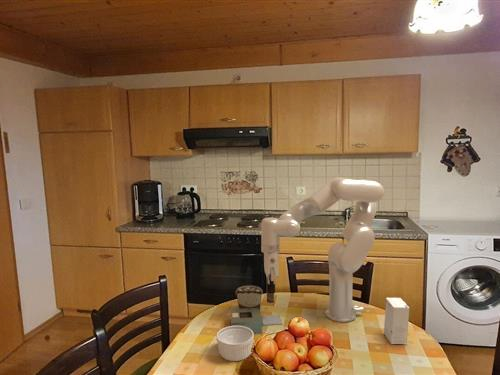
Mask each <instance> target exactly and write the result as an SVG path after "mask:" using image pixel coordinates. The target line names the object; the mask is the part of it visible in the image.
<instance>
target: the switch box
mask: <svg viewBox="0 0 500 375" xmlns="http://www.w3.org/2000/svg"><path fill="white" fill-rule="evenodd" d="M261 316H262V314H261V309H260V310H259V308H243V309H239V308H231V309H230V326H244V327H247V328H249V329H251V330H252V331H253V333H254V335H259V334H260V335H261V334H263V323H262V318H261Z"/></svg>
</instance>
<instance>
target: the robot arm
mask: <svg viewBox="0 0 500 375" xmlns="http://www.w3.org/2000/svg"><path fill="white" fill-rule="evenodd" d="M384 193H385V189H384V186H383V185H382V184H381V183H380V182H378V181H375V180H370V179H366V178H360V179H352V178H345V177H340V176H339V177H338V176H337V177H334V178H331V179H330V180H329V181H328V182H326V183H325V184H324V185H323V186H321V187H320V188H319V189H318V190H316V191H315V192H314V193H313V194H311V195H310V196H309V197H306V198H305V199H303V200H302V201H299V202H297V203H295V204H294V205H293V206H291V207H290V208H289V209H287V210H286V211H285V212H283V213H282V214H281V215H280V216H279V217H278V218H277V217H264V218H262V220H261V226H260V227H261V229H260V230H261V246H260V247H261V250H260V251H261V253H263V263H264V264H263V266H264V267H263V268H264V274H265V275H266V276H265V278H266V280H265V289H266V294H267V293H274V294H275V293H276V278H279V277H280V276H279V275H280V274H279V272H280V271H279V253H280V251H281V250H280V248H281V237H285V238H293V237H296V236H298V235H299V233H300V232H301V225H300V223H301V222H302V221H303V220H305V219H307V218H309V217H312V216H317V215H320V214H323V213H325V212H326V211H327V210H329V209H330V208H331V207H333V205H335V204H336V203H338V201H340V200H343V201H348V202H355V204H356V205H355V208H354V209H353V212H352V214H351V216H350V218H349V219H348V221H347V222H346V224H345V226H344V228H343V229H342V230H343V231H342V236H343V238H344V240H346V241H347V244H346V243H344V242H335V243H332V244H331V246H330V247H329V249H328V253H327V258H328V261H327V262H328V268H329V280H328V281H329V288H328V290H329V291H328V292H329V295H328V296H329V297H328V298H329V299H328V300H329V302H328V304H329V305H328V308H327V309H326V310H325V316H326V318H328V320H331V321H334V322H338V323H349V322H353V321H355V319H357V318H356V317H357V315H356V313H357V312H358V313H363V312H364V307H363V306H360V307H359V305H353V282H354V281H353V280H354V279H353V278H354V277H353V274H354V273H355V272H357V271H358V270H359V269H360V268H361V267H362V266H363V263H364V262H365V261H366V259H367V256H368V255H369V254H370V251H371V249H372V248H373V246H374V244H375V239H376V238H375V232H374V231H373V229H372V228H371V225H372V223H373V220H374V218H375V216H376V214H377V208H378V206H377V205H378V204H377V202H378V201H380V200H382V199H383V197H384V195H385V194H384ZM269 275H271V276H269ZM267 277H268V283H267ZM269 278H271V279H270V280H269Z"/></svg>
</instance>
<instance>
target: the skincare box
mask: <svg viewBox="0 0 500 375" xmlns="http://www.w3.org/2000/svg"><path fill="white" fill-rule="evenodd" d="M385 299H386V300H385V312H384V325H383V326H384V327H383V335H386V336H385V338H386V339H387V340H388V341H389V343H390V345H391V344H405V343H407V344H408V331H409V320H410V319H409V318H410V306H408V305H407V303H406V302H405V301H404V300H403V299H402V298H401V297H386V298H385Z"/></svg>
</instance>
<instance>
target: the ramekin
mask: <svg viewBox="0 0 500 375" xmlns="http://www.w3.org/2000/svg"><path fill="white" fill-rule="evenodd" d="M254 335H255V334H254V333H253V331H252V330H251V329H249V328H247V327H244V326H231V325H230V326H229V325H228V326H226V327H223V328H221V329H219V330H218V332H217V333H216V342H217V349H218V352H219V355H220V356H221V357H222V358H223V359H224V360H226V361H229V362H238V361H239V362H240V361H243V360H246V359H247V358H248V357H250V355H251V354H252V352H251V348H252V349H253V347H252V346H253V343H254V340H255V339H254V338H255V336H254Z"/></svg>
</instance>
